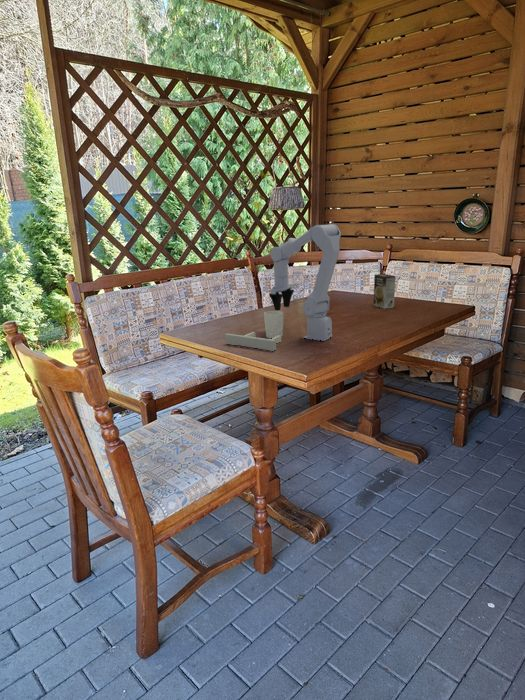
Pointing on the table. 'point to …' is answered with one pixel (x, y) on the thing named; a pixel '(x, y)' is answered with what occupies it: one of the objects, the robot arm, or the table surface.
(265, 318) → the white cup
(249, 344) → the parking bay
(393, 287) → the coffee box
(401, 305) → the table surface
